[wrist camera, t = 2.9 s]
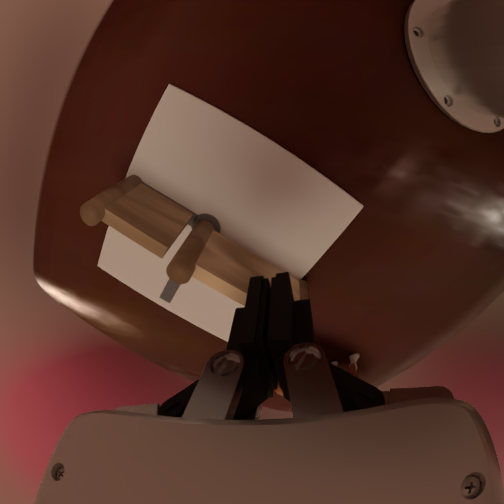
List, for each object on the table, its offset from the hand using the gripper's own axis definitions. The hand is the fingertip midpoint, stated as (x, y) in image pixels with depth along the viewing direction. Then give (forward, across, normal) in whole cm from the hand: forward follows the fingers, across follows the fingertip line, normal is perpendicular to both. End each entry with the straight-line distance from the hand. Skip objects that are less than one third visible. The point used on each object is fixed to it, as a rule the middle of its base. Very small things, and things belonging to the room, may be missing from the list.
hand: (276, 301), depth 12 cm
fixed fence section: (+11, +9, -3) cm, 14 cm away
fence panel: (+10, +3, +3) cm, 11 cm away
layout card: (+11, +6, +1) cm, 12 cm away
